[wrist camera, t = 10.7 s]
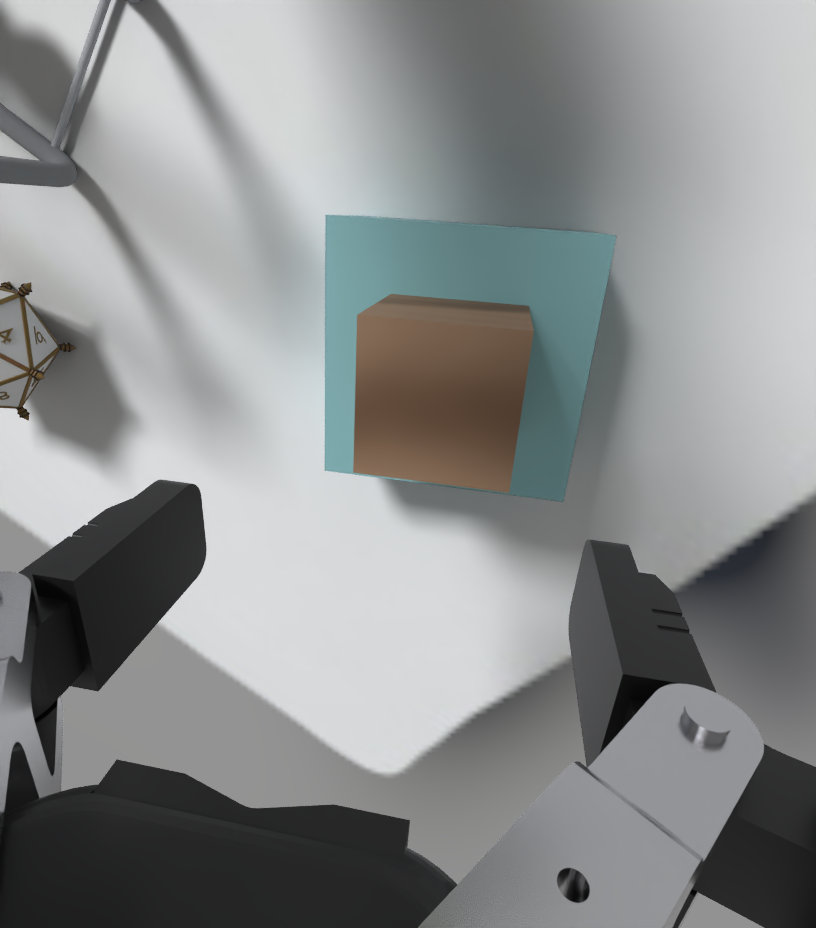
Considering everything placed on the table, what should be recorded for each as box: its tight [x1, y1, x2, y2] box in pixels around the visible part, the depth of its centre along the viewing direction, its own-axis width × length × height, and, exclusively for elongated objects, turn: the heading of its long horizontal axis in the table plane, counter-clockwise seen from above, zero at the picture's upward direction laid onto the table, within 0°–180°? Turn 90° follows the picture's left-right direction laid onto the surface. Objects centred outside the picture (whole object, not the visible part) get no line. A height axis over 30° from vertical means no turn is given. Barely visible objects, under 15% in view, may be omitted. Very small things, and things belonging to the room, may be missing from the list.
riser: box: [325, 215, 616, 502], centre depth 28 cm, size 12×12×6 cm
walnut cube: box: [353, 294, 534, 493], centre depth 23 cm, size 6×6×6 cm
